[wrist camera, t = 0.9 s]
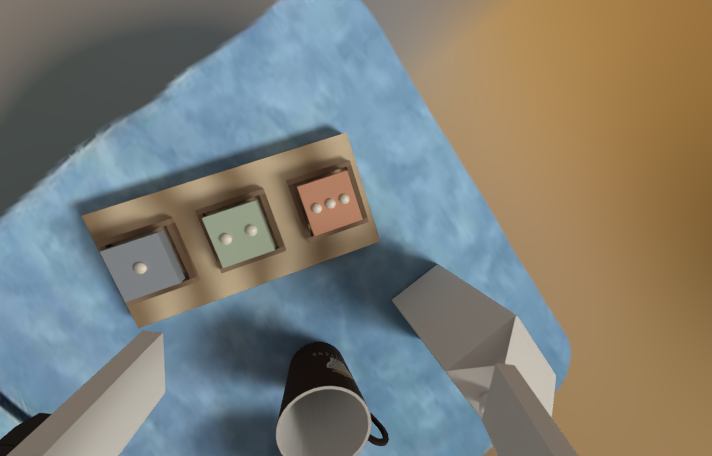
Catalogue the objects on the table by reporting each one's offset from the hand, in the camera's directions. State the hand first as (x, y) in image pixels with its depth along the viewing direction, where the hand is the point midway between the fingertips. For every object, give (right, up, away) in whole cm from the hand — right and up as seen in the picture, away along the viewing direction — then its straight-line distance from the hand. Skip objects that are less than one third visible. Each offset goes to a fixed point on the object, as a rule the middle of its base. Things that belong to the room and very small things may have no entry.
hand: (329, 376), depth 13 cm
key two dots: (-10, +6, +20) cm, 23 cm away
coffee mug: (-3, -12, +27) cm, 30 cm away
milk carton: (+10, -3, +28) cm, 30 cm away
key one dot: (-18, +3, +19) cm, 26 cm away
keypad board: (-11, +6, +23) cm, 26 cm away
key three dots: (-2, +9, +21) cm, 22 cm away
